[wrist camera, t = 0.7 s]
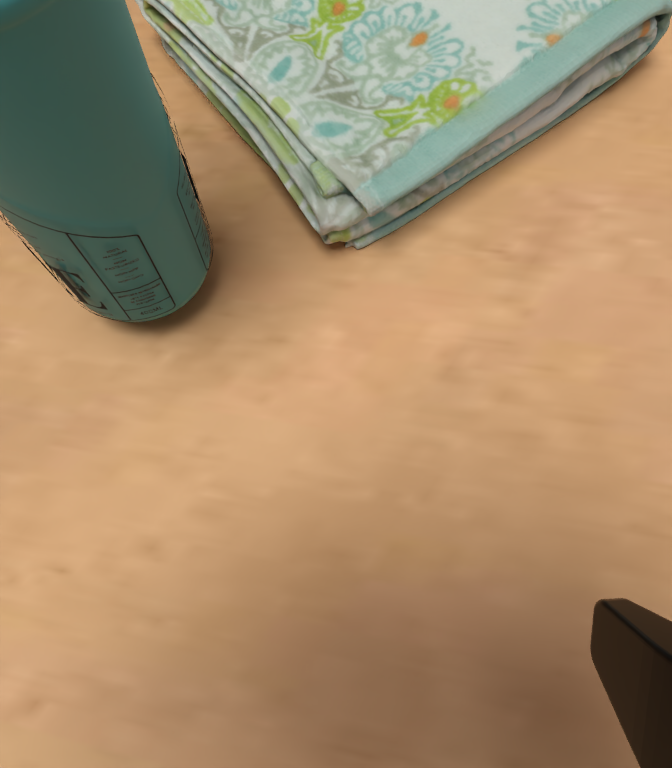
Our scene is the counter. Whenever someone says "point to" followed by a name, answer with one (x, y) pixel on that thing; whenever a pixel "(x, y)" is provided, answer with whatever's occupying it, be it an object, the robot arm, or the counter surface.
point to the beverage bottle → (95, 160)
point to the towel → (398, 88)
